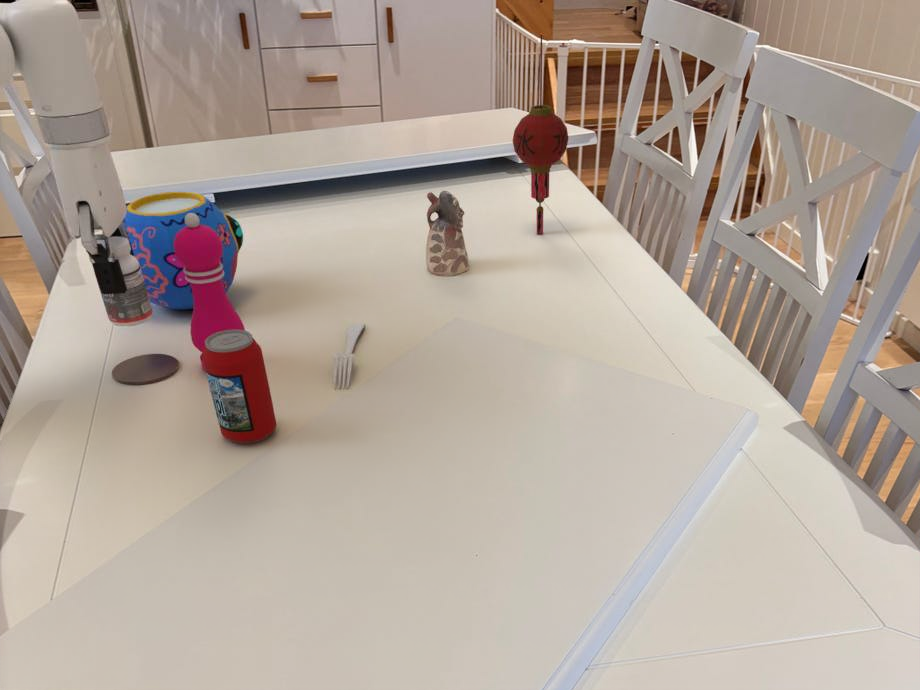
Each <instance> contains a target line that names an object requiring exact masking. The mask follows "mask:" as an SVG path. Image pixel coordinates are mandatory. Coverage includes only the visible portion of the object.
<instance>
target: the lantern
mask: <svg viewBox="0 0 920 690" xmlns="http://www.w3.org/2000/svg"><path fill="white" fill-rule="evenodd" d="M539 50H540V59H539V60H540V61H539V62H540V63H539V64H540V65H539V66H540V67H539V69H540V71H539V73H540V74H539V75H540V76H539V104H538V105H536V104H535V105H532V106H530V110H529V113H528V114H526V115H525V116H523V117H522V118H521V119H520V120H519V122H518V124H517V125H516V126H515V129H514V131H513V137H512V145H513V149H514V153H515V154H516V155H517V157H518V158H519V160H520V161H521V162H522V163H523V164H525V165H527V166H528V168H529V169H530V181H531V182H530V187H531V188H530V197H531V198H532V199H534V200H535V201H536V203H537V204H538V206H537V207H536V235H539V236H540V235H541V236H542V235H543V234H544V211H545V210H544V207H543V206H542V203H543V202H545V199H549V197H550V172H551V169H552V165H554V164H556V163H558V162H559V161H560V160H561V159H562V157H563V156H564V154H565V153H566V151H567V147H568V144H569V133H568V128H567V126H566V124H565V122H564V121H563V119H562V118H561V117H559V116H558V115H556V114H555V113H553V110H552V106H551V105H547V104H543V99H542V98H543V34H540V49H539Z"/></svg>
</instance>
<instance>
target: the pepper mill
mask: <svg viewBox="0 0 920 690" xmlns="http://www.w3.org/2000/svg"><path fill="white" fill-rule="evenodd" d="M199 222H200V221H199V217H198V216H197V215H196V214H194V213H188V214H187V215H186V216H185V223H186V225H187V226H186V227H184V228H183V229H181V230H180V231H179V232H178V233H177V234H176V236H175V239H174V251H175V255H176V257H177V259H178V260H179V261H180V262H181V263H182V264H183V265H185V267H184V269H183V271H184V273H185V279H186V280H187V281H188V282H190V285H191V288H192V293H193V299H194V308H193V311H192V315H191V320H190V321H191V322H190V339H191V342H192V344H193V346H194V347H195V348H196V349H197V350H198V351H200V352H201V354H200V355H199V359H200V364H201V368H202V371H204V372H205V373H206V371H205V366H204V362H203V358H202V356H203V352H204V348H205V341H206V339H207V338H208V337H209V336H211V335H212V334H215V333H217V332H221V331H225V330H244V331H246V328H245V325H244V323H243V321H242V319H241V316H240V315H239V313H237V310H235V308H234V306H233V305H232V303H231V301H230V300H229V297H228V296H227V292H226V293H225V290H224V287H223V281H222V277H223V276H224V271H223V269H222V268H223V265H222V263H220V262H219V260H220V258H221V256H222V254H223V245H222V242H221V240H220V237H219V236H218V234H217V233H216V232H215V231H214V230H213V229H211V228H210V227H208V226H204V225H199Z"/></svg>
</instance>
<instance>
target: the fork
mask: <svg viewBox="0 0 920 690" xmlns="http://www.w3.org/2000/svg"><path fill="white" fill-rule="evenodd" d="M365 325H366V324H365V323H350V324H348V325H347V327H346V337H347V339H346V348H345V353H341V354H335V355H334V356H333V387H334V388H333V389H334V390H335V391H336V387H337V377H338V390H340V389H341V382H342V390H344V389H345V382H346V390H349V387H350V381H351V375H352V368H353V367H352V366H353V362H354V358H355V356H356V353H353V350H354V347H355V345H356V342H357V340H358V338H359V336H360V335H361V333H362V331H363V329H364V327H365ZM346 374H347V378H346Z"/></svg>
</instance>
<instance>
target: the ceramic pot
mask: <svg viewBox="0 0 920 690" xmlns="http://www.w3.org/2000/svg"><path fill="white" fill-rule="evenodd" d="M126 210H127V212H126V216H125V218H124V219H125V220H124V221H125V226H126V229H127V231H128V234H129V238H130V240H129V242H131V246H132V249H133V253H134V256H135V258H136V259H137V260H138V262H139V265H140V268H141V272H142V275H143V279H144V282H145V286H146V290H147V293H148V297H149V300H150V304H154V305H156V306H158V307H163V308H167V309H170V310H192V309H194V299H193V293H192V288H191V285H190V282H188V281H187V280H186V279H185V273H184V271H183V269H184V267H185V265H183V264H182V263H181V262H180V261H179V260H178V259H177V257H176V255H175V251H174V239H175V236H176V234H177V233H178V232H179V231H180V230H181V229H183V228H184V227H186V226H187V225H186V223H185V216H186V215H187V214H188V213H194V214H196V215H197V216H198V217H199V221H200V222H199V225H204V226H208V227H210V228H211V229H213V230H214V231H215V232H216V233H217V234H218V236H219V237H220V240H221V242H222V245H223V254H222V256H221V258H220V260H219V262H220V263H222V265H223V268H222V269H223V271H224V276H223V277H222V281H223V287H224V290H225V293H226V294H227V292H228V291H229V289H230V288H231V286H232V284H233V282H234V279H235V277H236V272H237V267H238V256H239V252H240V250H241V248H242V246H243V242H244V234H243V233H244V232H243V229H242V227H241V224H240V223H239V221H238V220H237V219H235V218H234V217H233V216H231V215H228V214H226V213H224V212H223V211H222V210H221V209H220V208H219V207H218V205H216V204H215V203H214V202H212V201H211V200H210V199H208V198H207V197H205V196H204V195H202V194H199V193H196V192H192V191H191V192H190V191H167V192H161V193H155V194H154V193H153V194H149V195H147V196H143V197H139V198H137V199H135V200H133V201H132V202H130V203H129V204H128V205H126Z"/></svg>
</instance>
